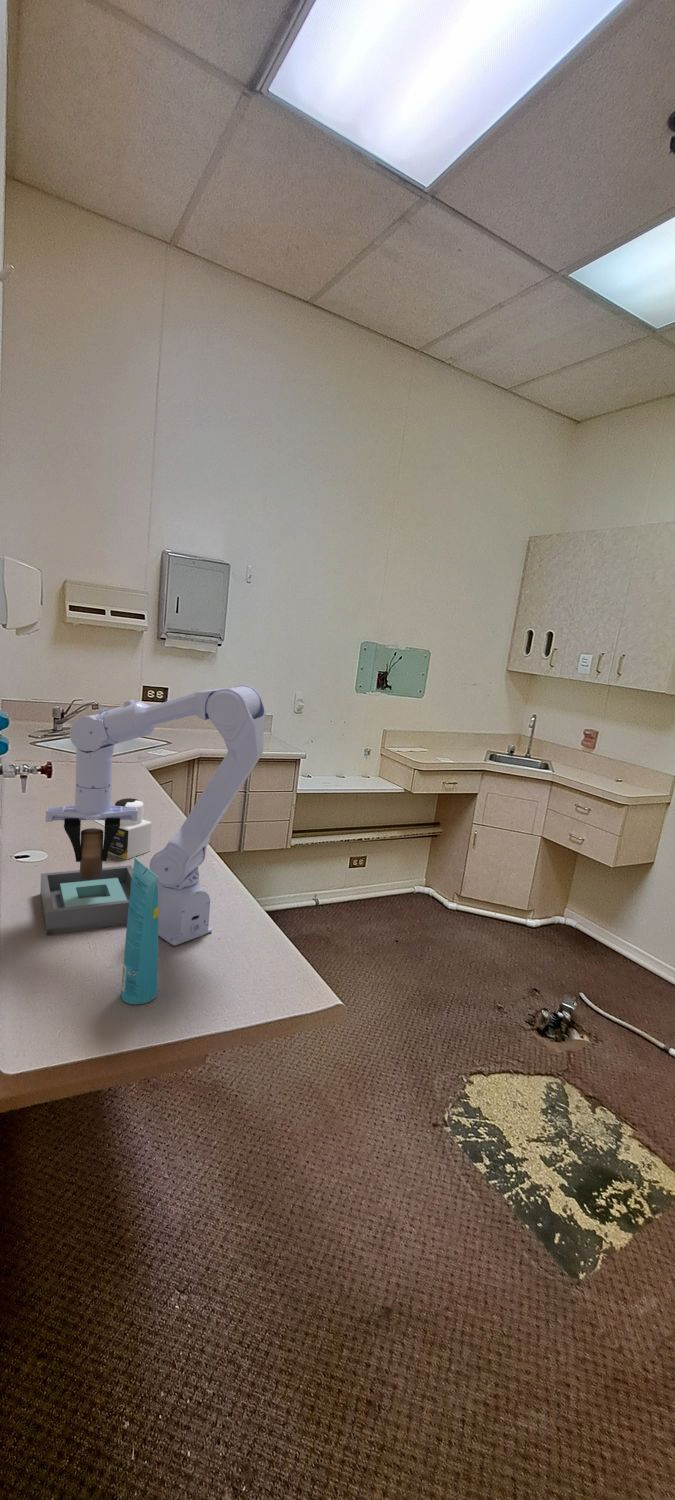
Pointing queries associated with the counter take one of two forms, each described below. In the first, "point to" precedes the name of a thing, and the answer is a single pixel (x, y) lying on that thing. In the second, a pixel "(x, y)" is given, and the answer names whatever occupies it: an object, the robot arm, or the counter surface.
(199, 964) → the counter surface
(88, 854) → the peg
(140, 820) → the medicine bottle
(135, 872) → the tube
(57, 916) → the tray
